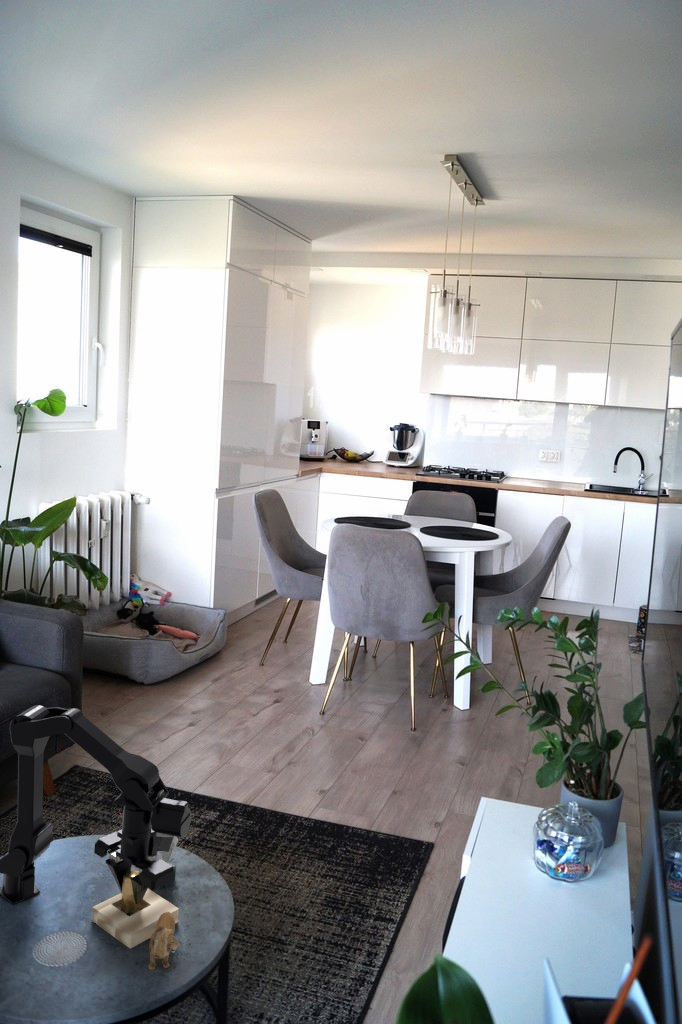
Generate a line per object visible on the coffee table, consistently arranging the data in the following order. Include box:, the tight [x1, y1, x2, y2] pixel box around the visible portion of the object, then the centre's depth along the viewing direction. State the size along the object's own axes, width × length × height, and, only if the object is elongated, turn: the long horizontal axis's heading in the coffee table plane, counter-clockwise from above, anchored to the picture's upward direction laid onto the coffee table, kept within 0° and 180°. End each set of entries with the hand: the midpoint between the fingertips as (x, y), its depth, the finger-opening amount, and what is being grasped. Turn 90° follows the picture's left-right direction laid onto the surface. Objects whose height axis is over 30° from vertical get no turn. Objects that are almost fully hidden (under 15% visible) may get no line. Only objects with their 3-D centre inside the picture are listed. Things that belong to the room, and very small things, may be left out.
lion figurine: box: [148, 912, 180, 970], centre depth 164 cm, size 15×5×9 cm, turn 12°
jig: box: [91, 888, 180, 949], centre depth 173 cm, size 12×12×3 cm
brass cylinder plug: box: [121, 869, 142, 915], centre depth 174 cm, size 4×4×7 cm
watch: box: [149, 836, 179, 889], centre depth 188 cm, size 6×8×11 cm
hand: (131, 898), depth 174 cm, fingers closed on brass cylinder plug, 4 cm apart
